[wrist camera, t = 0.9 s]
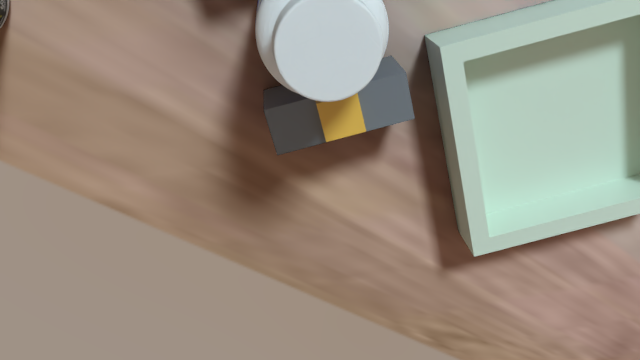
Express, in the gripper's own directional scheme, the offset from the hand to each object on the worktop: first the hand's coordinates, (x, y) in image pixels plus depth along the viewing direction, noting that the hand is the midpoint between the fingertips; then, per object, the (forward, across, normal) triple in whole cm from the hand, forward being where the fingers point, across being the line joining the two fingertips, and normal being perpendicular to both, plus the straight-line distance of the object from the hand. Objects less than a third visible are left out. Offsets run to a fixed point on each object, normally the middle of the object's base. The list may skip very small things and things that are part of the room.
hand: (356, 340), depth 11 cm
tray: (+22, +13, -6) cm, 26 cm away
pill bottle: (+22, +2, +2) cm, 22 cm away
